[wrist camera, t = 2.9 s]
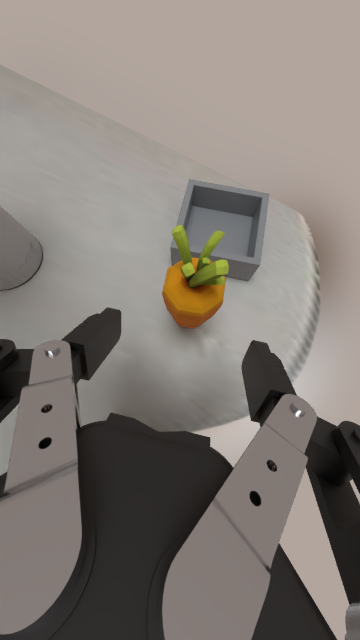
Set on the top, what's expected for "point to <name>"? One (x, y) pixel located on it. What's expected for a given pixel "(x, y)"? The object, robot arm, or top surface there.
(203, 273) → the carrot
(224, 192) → the bin
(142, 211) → the top surface
